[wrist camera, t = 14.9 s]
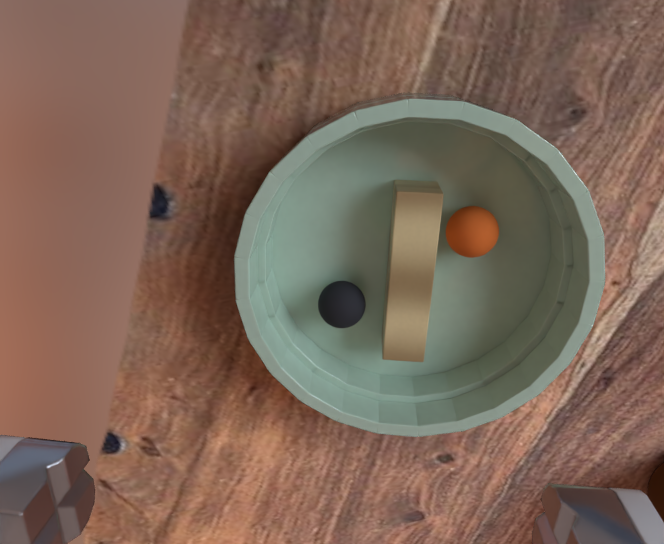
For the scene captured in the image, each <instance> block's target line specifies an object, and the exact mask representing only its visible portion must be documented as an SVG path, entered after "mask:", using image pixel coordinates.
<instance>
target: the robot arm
mask: <svg viewBox="0 0 664 544" xmlns="http://www.w3.org/2000/svg"><path fill="white" fill-rule="evenodd" d="M89 460H90V459H89V455H88V452H87V447H86V446H85V445H83V444H80V443H74V442H65V441H56V440H47V439H38V438H30V437H28V438H24V437H15V436H7V435H0V544H67V543H68V542H70V541H72V540H73V539H75V538H76V537H78V536H79V535H80V534H81V533H82V531H83V529H84V527H85V526H86V524H87V522H88V521H89V518H90V515H91V512H92V509H93V506H94V502H95V485H94V480H93V478H92V477H91V476H90V475H89V474H88V473H87V472H86V471H85V470H84V467H85V466H86V465H87V463H88V462H89ZM541 502H542V505H543V508H544V511H545V512H544V513H542V514H541V515H540V516H538V517H537V518H536V519H535V522H534V527H533V531H532V544H664V522H663V520H662V519H661V517H660V516H659V514H658V512H657V511H656V509H655V508H654V506H653V504H652V503H651V501H650V500H649V498H648V496H647V495H646V494H645V493H643V492H642V491H641V490H635V489H621V488H605V487H593V486H580V485H567V484H554V483H548V484H547V485H546V486H545V488H544V490H543V493H542V496H541Z"/></svg>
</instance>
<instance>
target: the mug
mask: <svg viewBox="0 0 664 544" xmlns="http://www.w3.org/2000/svg"><path fill="white" fill-rule="evenodd" d="M648 498H649V500H650V501H651V503H652V504H653V506H654V508H655V509H656V511H657V512H658V514H659V516H660V517H661V519H662V520H663V522H664V462H663V463H662V464H660V465H659V467H658V468H657V469H656V470H655V472H654V473H653V475H652V476H651V478H650V481H649V485H648Z"/></svg>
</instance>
